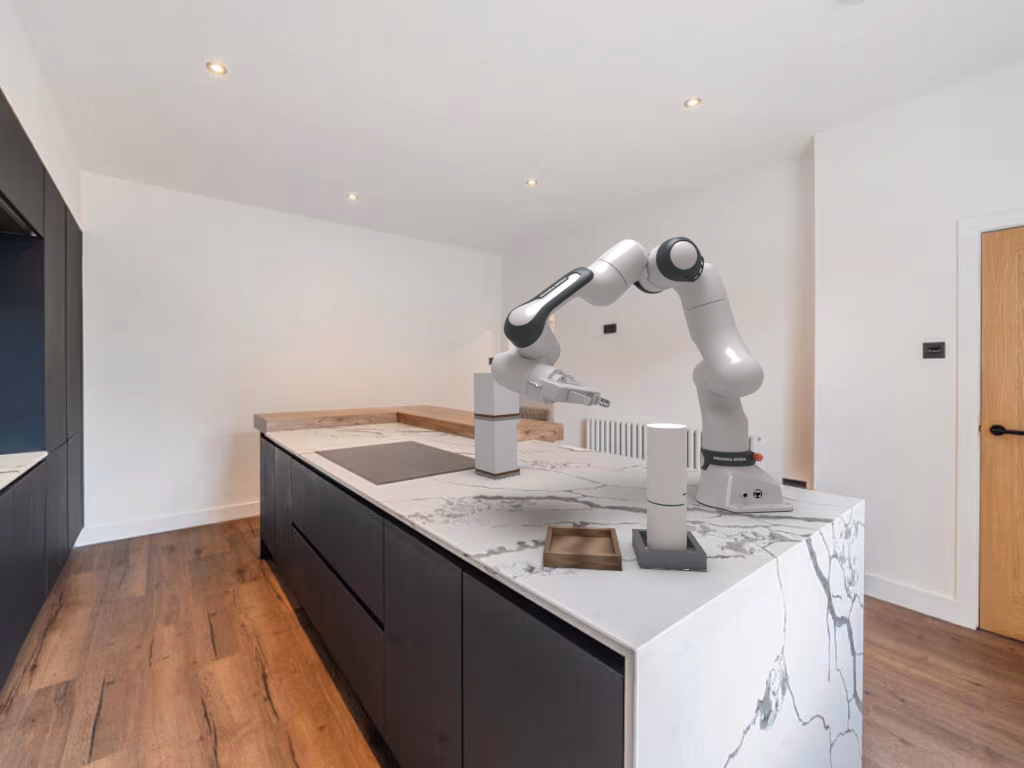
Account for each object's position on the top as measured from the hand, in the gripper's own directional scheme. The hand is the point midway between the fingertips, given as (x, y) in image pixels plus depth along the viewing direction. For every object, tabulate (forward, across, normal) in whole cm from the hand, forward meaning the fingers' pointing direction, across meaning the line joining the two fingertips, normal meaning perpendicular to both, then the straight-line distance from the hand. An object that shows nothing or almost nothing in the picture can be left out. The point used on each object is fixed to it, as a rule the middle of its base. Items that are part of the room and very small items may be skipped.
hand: (600, 403), depth 95 cm
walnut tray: (+9, -8, +28) cm, 31 cm away
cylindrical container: (+23, -1, +23) cm, 33 cm away
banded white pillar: (-43, +34, +39) cm, 67 cm away
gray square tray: (+23, -1, +23) cm, 33 cm away
